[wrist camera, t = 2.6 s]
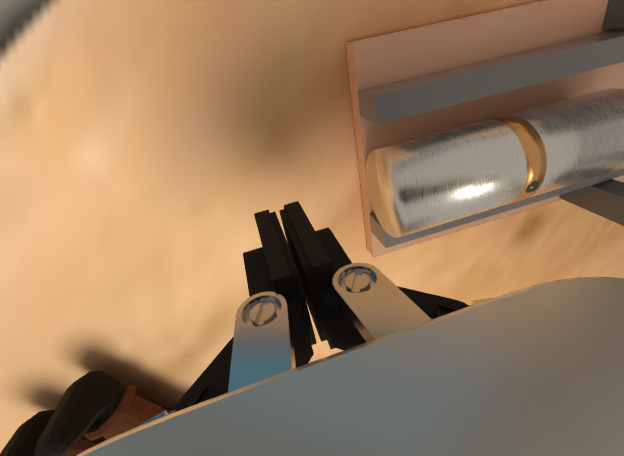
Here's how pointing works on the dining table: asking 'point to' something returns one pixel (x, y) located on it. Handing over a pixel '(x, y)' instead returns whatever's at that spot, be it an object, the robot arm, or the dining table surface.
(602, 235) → the dining table surface
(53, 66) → the dining table surface
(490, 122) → the steel tube
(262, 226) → the robot arm
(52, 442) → the toy
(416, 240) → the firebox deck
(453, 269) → the dining table surface
